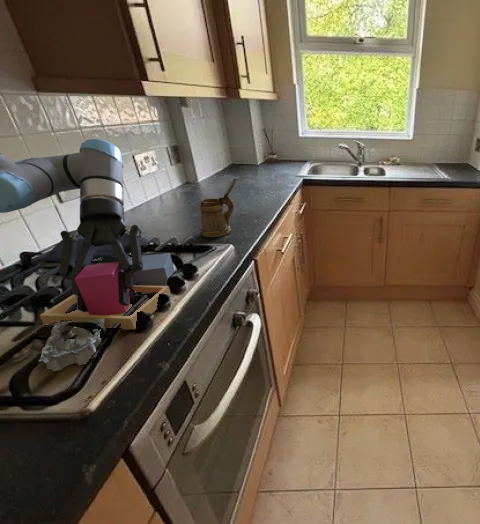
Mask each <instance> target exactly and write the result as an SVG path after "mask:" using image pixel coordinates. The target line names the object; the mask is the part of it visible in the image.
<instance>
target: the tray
mask: <svg viewBox="0 0 480 524" xmlns="http://www.w3.org/2000/svg"><path fill="white" fill-rule="evenodd" d="M132 289H133V290H134V291H136V292H142V293H151V292H158V293H156V294H155V295H154V296H153V297H152V298H151V299H149V300H148V301H147V302H146V303H145V304H143V305H142V306H141V307H140V308H139V309H138V310H136V311H135V312H134V313H133V314H132V315H130V316H122V315H123V314H124V313H118V314H112V315H89V313H88V312H82V311H80V310H78V309H77V310H75V311H72V312H70V313H67V314H66V313H65V312H66V311H67V310H68V309H69V308H70V307H71V306H72V305H73V304H75V303H76V302H77V296H76V295H74V294H73V293H72V295H70V296H68V297H66V298H65V299H64V300H62V301H61V302H58V303H57V304H56V305H54V306H52V307H51V308H49V309H48V310H45V311H44V312H43V313H41V314H40V315H39V317H40V319H41V322H42V323H43V325H44V326H45V325H46V324H50V323H53V322H57V321H58V320H60V321H61V320H72V321H86V320H89V321H94V320H96V318H97V319H103V318H105V321H104V326H105V328H109V327H111V326H112V325H114V324H115V323H121V328H122V329H121V330H133V331H134V330H136V329H137V328H136V321H137V312H140V311H143V312H147V313H150V314H151V315H152V314H153V313H155V311H156V310H158V309H157V305H158V304H157V302H158V297H159V294H162V293H163V294H166V295H168V296H171V297H172V293H171V289H170V286H148V285H133V288H132ZM131 307H132V304H129V306H128V309H127V311H128V310H129V309H130V308H131ZM127 311H126V312H127Z"/></svg>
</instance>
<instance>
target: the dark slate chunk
mask: <svg viewBox="0 0 480 524" xmlns="http://www.w3.org/2000/svg"><path fill="white" fill-rule="evenodd" d="M83 240H84V238H83V237H82V236H79V237H78V242H76V257H75V260H77V259H78V256H79V254H80V251H81V249H82V247H83V245H82V243H83ZM119 240H120V242H121V244H122V246H123V250H124V252H125V254H126V256H127V258H129V257H130V256H128V254H130V253H131V248H130V240H129V235H128V234H127V232H125V233H124V235H123V236H122V237H121V238H120V239H119ZM139 240H140V244H144V243H145V244H146V243H147V241H149V239H147V238H146V237H142V235H141V236H140V239H139ZM145 244H144V245H145ZM62 247H63V239H62V240H60V241H59V242H58V243H57V244H56V245H55V246H54V247H53V248H51V250H50V251H49V252H47V253H46V255H45V256H44V257H43V261H46V262H48V261H49V262H56V263H61V256H62ZM100 257H103V259H102V262H101V263H110V262H119V260H118V258H117V256H116V254H115V252H114V249H113V247H112V245H103V246H99V247H98V249H97V251H95V253H94V255H93V258H92V260H94V259H98V258H100Z"/></svg>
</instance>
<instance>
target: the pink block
mask: <svg viewBox="0 0 480 524" xmlns="http://www.w3.org/2000/svg"><path fill="white" fill-rule="evenodd" d="M121 268H122V267H121V265H120V263H119V261H110V262H102V263H94V264H90V265H86V266H85V267H84V268H83V269H82V270H81V272H80V273H79V274H78V275H77V276H76V278H75V281H76V283H77V286H78V288H79V290H80V293H81V295H82V298H83V300H84V303H85V305H86V308H87V310H88V313H89V315H112V314H118V313H125V312H126V311H127V309H128V306H129V305H128V306H123V305H122V304H120V303H119V279H118V272H124V271H123V270H122V269H121ZM129 291H130V289H128V304H130V296H129Z"/></svg>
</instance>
